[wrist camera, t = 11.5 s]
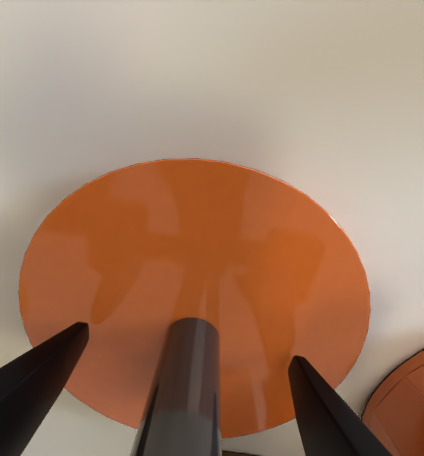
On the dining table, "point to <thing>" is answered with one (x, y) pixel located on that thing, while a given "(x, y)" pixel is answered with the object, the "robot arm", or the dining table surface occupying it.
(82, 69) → the dining table surface
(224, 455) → the block
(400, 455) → the pot
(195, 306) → the lid
